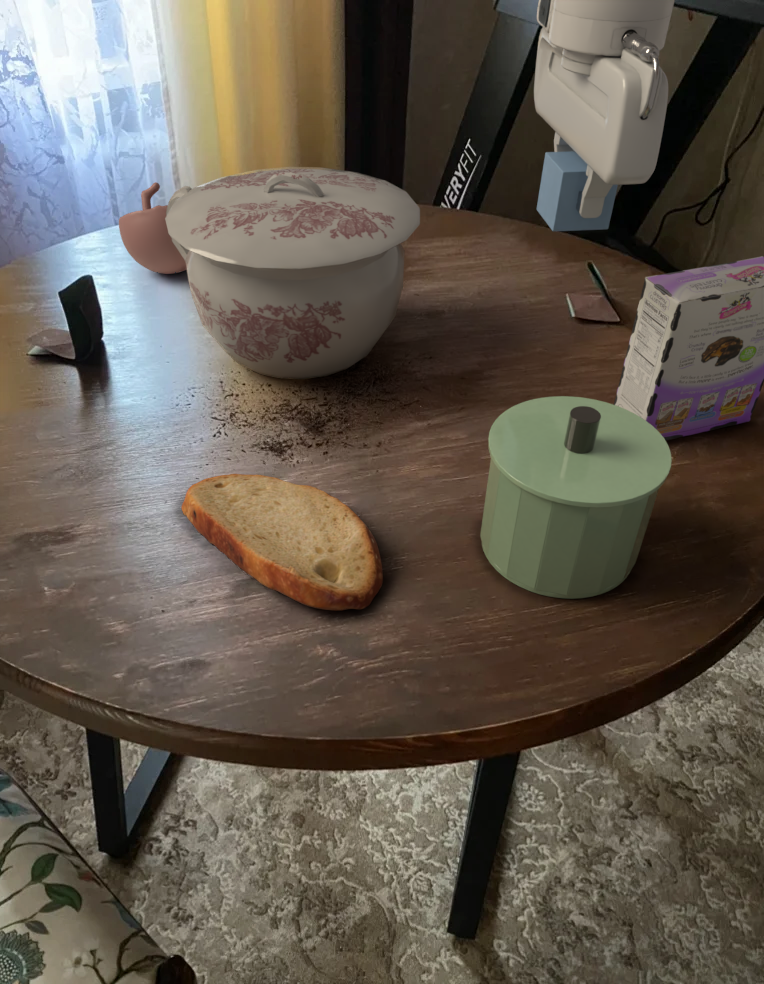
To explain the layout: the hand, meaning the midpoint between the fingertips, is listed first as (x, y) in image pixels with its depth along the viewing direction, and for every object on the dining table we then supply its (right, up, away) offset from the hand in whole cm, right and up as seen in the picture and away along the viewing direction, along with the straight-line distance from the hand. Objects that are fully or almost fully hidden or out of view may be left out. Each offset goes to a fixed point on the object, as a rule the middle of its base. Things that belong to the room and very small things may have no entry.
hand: (575, 200), depth 73 cm
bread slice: (-26, -30, +2) cm, 40 cm away
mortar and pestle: (-45, +8, +45) cm, 64 cm away
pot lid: (-1, -22, -5) cm, 23 cm away
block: (0, -1, +1) cm, 2 cm away
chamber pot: (-26, -7, +28) cm, 39 cm away
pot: (-1, -30, +2) cm, 30 cm away
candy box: (+16, -17, +17) cm, 29 cm away
